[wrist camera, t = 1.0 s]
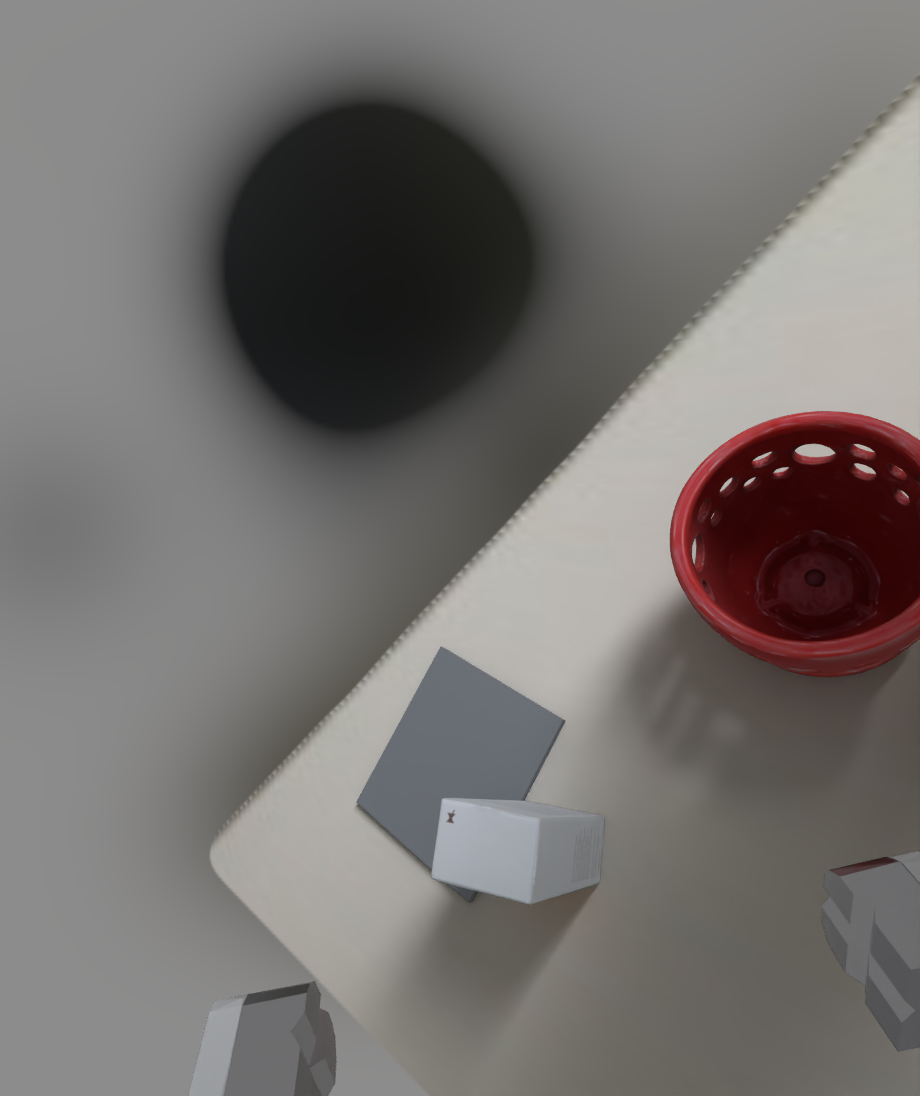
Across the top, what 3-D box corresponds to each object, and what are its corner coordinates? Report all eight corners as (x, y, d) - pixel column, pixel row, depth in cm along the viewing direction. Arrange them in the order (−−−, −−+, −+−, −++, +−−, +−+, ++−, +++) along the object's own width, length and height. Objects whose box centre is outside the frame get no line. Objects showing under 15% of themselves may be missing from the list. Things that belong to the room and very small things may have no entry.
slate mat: (443, 647, 53) (440, 646, 52) (565, 720, 46) (562, 720, 45) (360, 802, 51) (356, 802, 51) (471, 901, 45) (468, 902, 44)
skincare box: (516, 865, 44) (425, 879, 34) (524, 799, 45) (439, 794, 36) (603, 887, 41) (530, 908, 31) (608, 815, 42) (540, 814, 33)
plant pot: (755, 476, 45) (732, 383, 36) (978, 540, 38) (1028, 444, 28) (670, 639, 44) (624, 589, 35) (883, 739, 37) (900, 710, 27)
